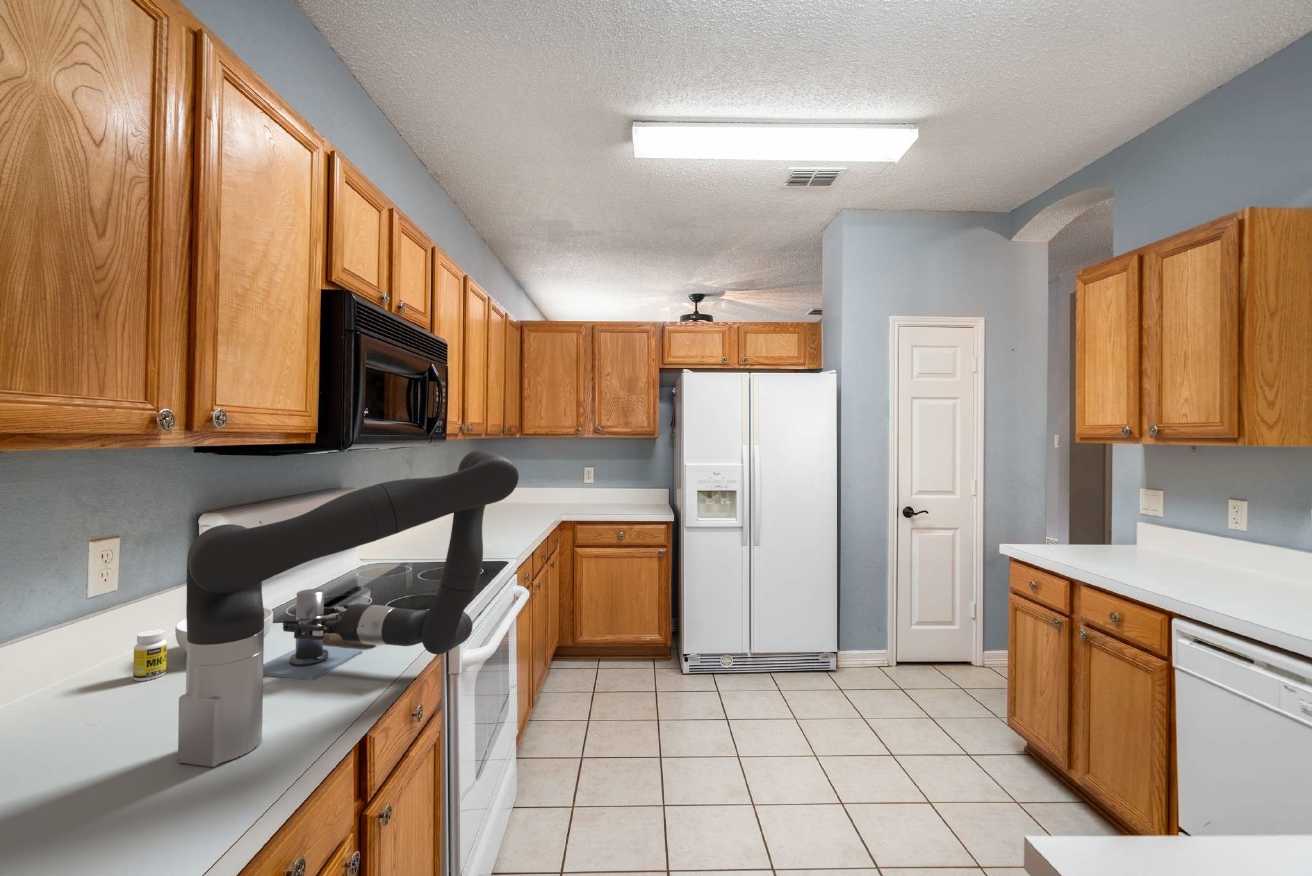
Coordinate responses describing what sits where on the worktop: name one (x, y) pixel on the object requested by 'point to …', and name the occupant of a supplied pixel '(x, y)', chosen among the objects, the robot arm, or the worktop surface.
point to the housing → (340, 640)
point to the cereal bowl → (182, 628)
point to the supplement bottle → (150, 655)
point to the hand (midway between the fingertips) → (301, 618)
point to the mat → (284, 669)
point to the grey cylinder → (307, 609)
